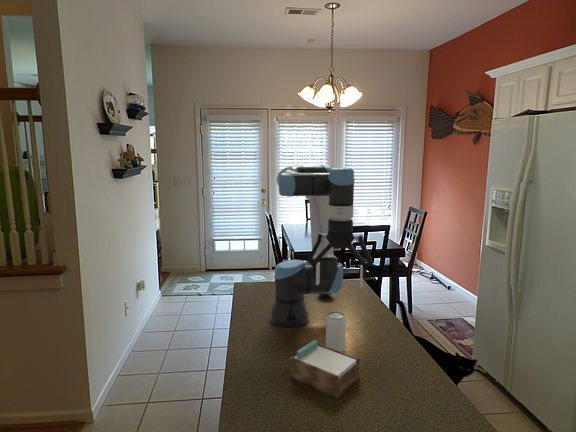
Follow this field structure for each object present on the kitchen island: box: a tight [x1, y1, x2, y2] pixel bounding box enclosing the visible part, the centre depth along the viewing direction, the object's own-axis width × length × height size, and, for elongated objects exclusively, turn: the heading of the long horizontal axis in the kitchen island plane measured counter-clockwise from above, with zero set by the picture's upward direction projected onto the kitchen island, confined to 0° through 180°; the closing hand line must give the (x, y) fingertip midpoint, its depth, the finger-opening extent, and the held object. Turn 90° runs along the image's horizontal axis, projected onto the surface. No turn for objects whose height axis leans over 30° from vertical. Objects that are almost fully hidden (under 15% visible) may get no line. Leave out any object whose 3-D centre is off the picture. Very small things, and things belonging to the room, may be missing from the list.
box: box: [289, 343, 360, 400], centre depth 114 cm, size 16×12×6 cm
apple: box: [318, 293, 333, 298], centre depth 179 cm, size 7×8×8 cm
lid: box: [293, 339, 357, 379], centre depth 113 cm, size 15×10×3 cm
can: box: [325, 311, 346, 353], centre depth 131 cm, size 6×6×12 cm
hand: (339, 285), depth 123 cm, fingers open, 13 cm apart
